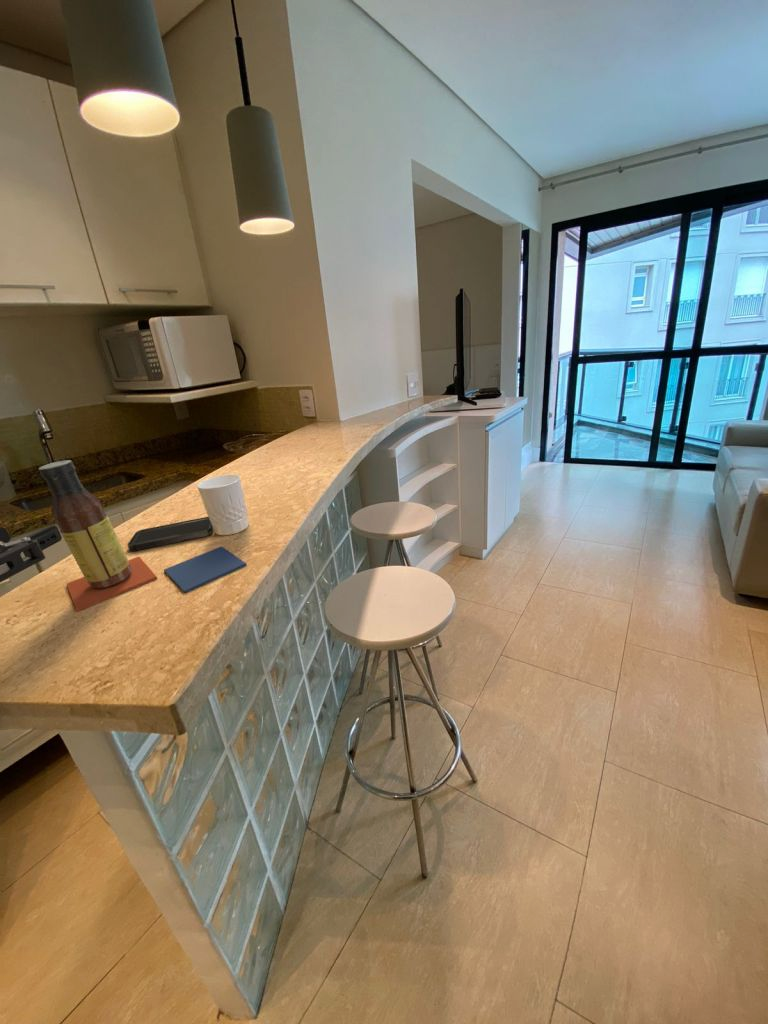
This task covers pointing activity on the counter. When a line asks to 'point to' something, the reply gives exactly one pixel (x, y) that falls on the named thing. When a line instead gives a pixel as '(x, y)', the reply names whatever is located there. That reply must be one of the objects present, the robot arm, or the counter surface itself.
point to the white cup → (224, 503)
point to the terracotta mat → (90, 596)
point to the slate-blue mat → (204, 568)
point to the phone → (170, 533)
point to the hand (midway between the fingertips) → (31, 532)
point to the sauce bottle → (85, 527)
